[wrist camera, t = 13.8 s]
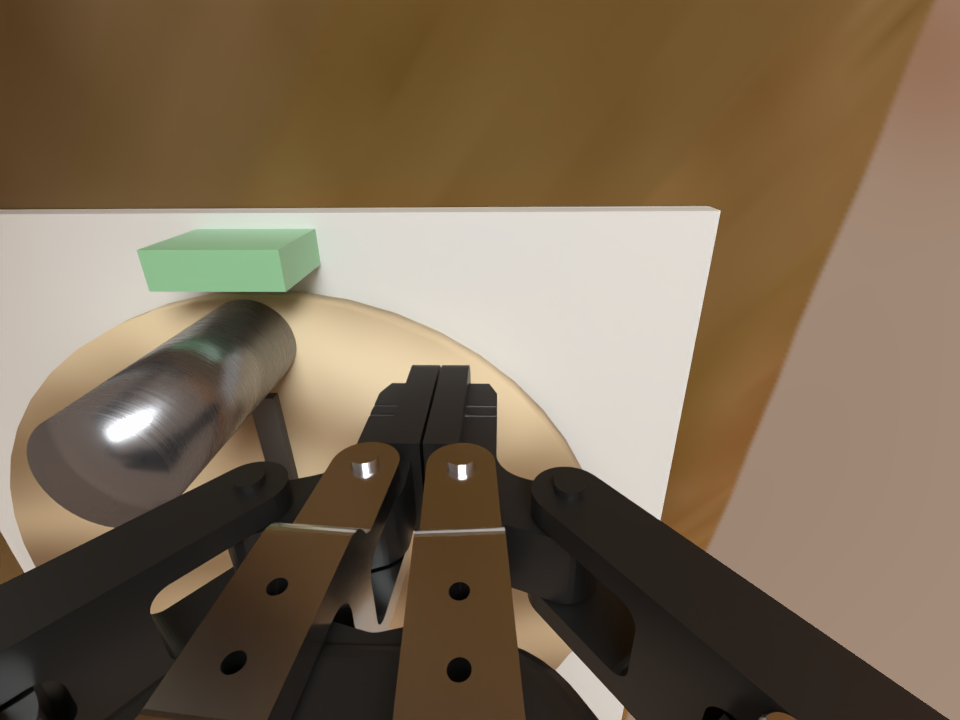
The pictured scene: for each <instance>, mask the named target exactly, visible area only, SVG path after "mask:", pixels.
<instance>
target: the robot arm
mask: <svg viewBox="0 0 960 720" xmlns="http://www.w3.org/2000/svg"><path fill="white" fill-rule="evenodd" d="M374 405H375V406H374V407H373V409H372V411H371V413H370V416H369V418H368V420H367V422H366V424H365V427H364V429H363V431H362V433H361V435H360V438H359V440H358V442H357V444H355V445H352V446H350V447H347V448H345V449H344V450H342V451H341V452H339V453H338V454H337V455H336V456H335V457H334V458H333V460H332V461H331V463H330V464H329V466H328V468H327V469H326V471H325V472H324V473H322V474H318V475H313V476H308V477H303V478H298V479H293V480H289V475H288V472H287V470H286V468H285V467H284V466H282V465H281V464H278V463H275V462H269V461H261V462H253V463H249V464H245V465H242V466H239V467H237V468H235V469H232V470H230V471H228V472H226V473H224V474H222V475H220V476H218V477H216V478H214V479H212V480H210V481H208V482H206V483H204V484H202V485H200V486H198V487H196V488H194V489H192V490H190V491H188V492H186V493H184V494H182V495H180V496H178V497H176V498H174V499H172V500H170V501H168V502H166V503H164V504H162V505H160V506H158V507H156V508H154V509H152V510H150V511H148V512H146V513H144V514H142V515H140V516H138V517H136V518H134V519H132V520H130V521H128V522H126V523H124V524H122V525H120V526H118V527H116V528H114V529H112V530H110V531H108V532H106V533H104V534H102V535H100V536H98V537H96V538H94V539H92V540H90V541H88V542H86V543H84V544H82V545H80V546H78V547H76V548H74V549H72V550H70V551H68V552H66V553H64V554H62V555H60V556H58V557H56V558H54V559H52V560H50V561H48V562H46V563H44V564H42V565H40V566H38V567H36V568H34V569H32V570H29V571H27V572H25V573H23V574H21V575H19V576H17V577H15V578H13V579H11V580H9V581H7V582H5V583H3V584H1V585H0V720H599V719H598V718H597V717H596V715H595V714H594V713H593V712H592V710H591V709H590V708H589V707H588V705H587V704H586V703H585V702H584V701H583V699H582V698H581V697H580V696H579V694H578V693H577V692H576V691H575V690H574V688H573V687H572V686H571V685H570V684H569V683H568V682H567V681H566V680H565V679H564V678H563V677H562V676H561V675H560V674H559V673H558V672H557V671H556V670H554V669H553V668H552V667H550V666H549V665H548V664H546V663H545V662H544V661H542V660H541V659H539V658H537V657H536V656H534V655H532V654H531V653H529V652H527V651H525V650H523V649H520V648H518V644H517V635H516V626H515V616H514V607H513V598H512V588H514V589H517V590H520V591H523V592H526V593H528V599H529V602H530V604H531V605H532V607H533V608H534V610H535V611H536V612H537V613H538V614H539V615H540V616H541V617H542V619H543V620H544V621H545V622H546V623H547V624H548V625H549V626H550V627H551V628H552V629H553V630H554V631H555V633H556V634H557V635H558V636H559V637H560V638H561V639H562V640H563V641H564V642H565V643H566V644H567V646H568V647H569V648H570V649H571V650H572V651H573V652H574V653H575V654H576V655H577V656H578V657H579V659H580V660H581V661H582V662H583V663H584V664H585V665H586V666H587V667H588V668H589V669H590V670H591V672H592V673H593V674H594V675H595V676H596V677H597V678H598V679H599V680H600V681H601V682H602V683H603V685H604V686H605V687H606V688H607V689H608V690H609V691H610V692H611V693H612V694H613V695H614V696H615V697H616V699H617V700H618V701H619V702H620V703H621V704H622V705H623V706H624V707H625V708H626V709H627V710H628V712H629V713H630V714H631V715H632V716H633V717H634V718H635V719H636V720H949V719H948V718H946V717H945V716H943V715H942V714H940V713H939V712H937V711H936V710H935V709H933V708H931V707H930V706H929V705H927V704H926V703H924V702H923V701H921V700H920V699H918V698H917V697H916V696H914V695H913V694H911V693H910V692H908V691H907V690H905V689H904V688H903V687H901V686H900V685H898V684H896V683H895V682H894V681H892V680H891V679H889V678H888V677H886V676H885V675H884V674H882V673H881V672H879V671H878V670H876V669H875V668H873V667H872V666H871V665H869V664H868V663H866V662H865V661H863V660H862V659H860V658H859V657H858V656H856V655H855V654H853V653H852V652H850V651H849V650H847V649H846V648H844V647H843V646H842V645H840V644H838V643H837V642H836V641H834V640H833V639H831V638H830V637H828V636H827V635H826V634H824V633H823V632H821V631H820V630H818V629H817V628H815V627H814V626H813V625H811V624H810V623H808V622H806V621H805V620H804V619H802V618H801V617H799V616H798V615H797V614H795V613H794V612H792V611H791V610H789V609H788V608H786V607H785V606H783V605H782V604H781V603H779V602H777V601H776V600H775V599H773V598H772V597H770V596H769V595H767V594H766V593H765V592H763V591H762V590H760V589H759V588H757V587H756V586H754V585H753V584H752V583H750V582H748V581H747V580H746V579H744V578H743V577H741V576H740V575H738V574H737V573H736V572H734V571H733V570H731V569H730V568H728V567H727V566H725V565H724V564H722V563H721V562H720V561H718V560H717V559H715V558H713V557H712V556H711V555H709V554H708V553H707V552H705V551H704V550H702V549H701V548H699V547H698V546H696V545H695V544H693V543H692V542H691V541H689V540H688V539H686V538H685V537H683V536H682V535H680V534H679V533H677V532H676V531H675V530H673V529H672V528H670V527H669V526H667V525H666V524H664V523H663V522H662V521H660V520H659V519H657V518H656V517H654V516H653V515H651V514H650V513H648V512H647V511H646V510H644V509H643V508H641V507H640V506H638V505H637V504H635V503H634V502H632V501H631V500H630V499H628V498H627V497H625V496H624V495H622V494H621V493H619V492H618V491H616V490H615V489H614V488H612V487H611V486H609V485H608V484H606V483H605V482H603V481H602V480H601V479H599V478H598V477H596V476H595V475H593V474H591V473H590V472H587V471H585V470H582V469H579V468H574V467H554V468H550V469H547V470H545V471H543V472H541V473H540V474H538V475H537V476H536V478H535V479H534V480H529V479H525V478H522V477H518V476H516V475H514V474H512V473H510V472H508V471H507V470H506V469H504V468H503V467H502V466H501V465H500V463H499V462H498V460H497V393H496V392H495V390H494V389H493V388H492V387H491V385H490V384H473V383H471V374H470V365H442V367H441V366H440V365H412V367H411V370H410V372H409V375H408V378H407V380H406V383H391V384H390V385H389V386H388V387H386V388H385V389H384V390H383V391H381V392H380V393H379V395H378V398H377V400H376V402H375V404H374ZM413 531H415V533H414V538H413V546H412V554H411V563H410V572H409V581H408V589H407V598H406V607H405V615H404V624H403V627H401V628H396V629H392V630H389V628H390V624H391V621H392V618H393V615H394V611H395V608H396V605H397V601H398V598H399V595H400V592H401V588H402V585H403V582H404V578H405V575H406V572H407V568H408V565H409V561H410V551H409V546H410V543H411V539H412V534H413ZM227 549H228V552H229V555H230V558H231V561H232V564H233V567H232V568H230V569H229V570H227V571H226V572H224V573H222V574H221V575H219V576H218V577H216V578H214V579H213V580H211V581H210V582H208V583H207V584H205V585H203V586H202V587H200V588H199V589H197V590H196V591H194V592H192V593H191V594H189V595H188V596H186V597H185V598H183V599H181V600H180V601H178V602H177V603H175V604H173V605H172V606H170V607H169V608H167V609H165V610H164V611H161V612H159V613H155V614H151V613H150V608H151V605H152V602H153V600H154V599H155V597H156V596H157V595H158V594H159V593H160V591H162V590H163V589H164V588H165V587H167V586H168V585H170V584H171V583H173V582H175V581H176V580H178V579H179V578H181V577H183V576H184V575H186V574H188V573H189V572H191V571H193V570H194V569H196V568H198V567H199V566H201V565H203V564H204V563H206V562H208V561H209V560H211V559H213V558H214V557H216V556H218V555H219V554H221V553H222V552H224V551H226V550H227Z"/></svg>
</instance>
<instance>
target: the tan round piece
mask: <svg viewBox="0 0 960 720" xmlns="http://www.w3.org/2000/svg"><path fill="white" fill-rule="evenodd" d="M412 365H440V366H441V367H442V365H470V374H471V383H473V384H490V385H491V387H492V388H493V389H494V390H495V392H496V393H497V460H498V462H499V463H500V465H501V466H502V467H503V468H504V469H506V470H507V471H508V472H510V473H512V474H514V475H516V476H518V477H522V478H525V479H529V480H534V479H535V478H536V476H537V475H538V474H540V473H541V472H543V471H545V470H547V469H550V468H554V467H574V468H579V469H582V468H581V466H580V464H579V462H578V461H577V459H576V457H575V455H574V453H573V452H572V450H571V448H570V446H569V444H568V442H567V441H566V439H565V438H564V436H563V435H562V434H561V432H560V431H559V430H558V428H557V427H556V426H555V425H554V423H553V422H552V421H551V419H550V418H549V417H548V415H547V414H546V413H545V411H544V410H543V409H542V408H541V407H540V406H539V405H538V404H537V403H536V402H535V401H534V400H533V399H532V398H531V397H530V396H529V395H528V394H527V393H526V392H525V391H524V390H523V389H522V388H521V387H520V386H519V385H518V384H517V383H516V382H515V381H514V380H512V379H511V378H510V377H508V376H507V375H506V374H504V373H503V372H502V371H500V370H499V369H498V368H496V367H495V366H494V365H492V364H491V363H490V362H488V361H487V360H486V359H484V358H483V357H482V356H481V355H479V354H477V353H476V352H474V351H472V350H470V349H469V348H467V347H465V346H464V345H462V344H460V343H458V342H457V341H455V340H453V339H451V338H450V337H448V336H446V335H444V334H443V333H441V332H439V331H437V330H434V329H432V328H430V327H427V326H425V325H423V324H420V323H418V322H416V321H413V320H411V319H409V318H406V317H404V316H402V315H399V314H397V313H394V312H390V311H387V310H384V309H380V308H377V307H373V306H370V305H366V304H363V303H360V302H356V301H353V300H349V299H343V298H337V297H331V296H325V295H319V294H313V293H307V292H296V291H286V292H224V293H213V294H207V295H202V296H198V297H194V298H189V299H185V300H181V301H176V302H172V303H168V304H165V305H163V306H160V307H158V308H155V309H153V310H150V311H148V312H145V313H143V314H140V315H138V316H135V317H133V318H130V319H128V320H126V321H125V322H123V323H121V324H119V325H117V326H115V327H113V328H111V329H110V330H108V331H106V332H105V333H103V334H101V335H100V336H98V337H96V338H95V339H93V340H91V341H90V342H88V343H86V344H85V345H83V346H82V347H80V348H78V349H77V350H76V351H75V352H73V353H72V354H71V355H70V356H69V357H68V358H67V359H66V360H65V361H63V362H62V363H61V364H60V365H59V366H58V367H57V368H56V369H54V370H53V371H52V372H51V373H50V374H49V376H48V377H47V378H46V380H45V381H44V382H43V384H42V385H41V386H40V388H39V389H38V390H37V392H36V393H35V394H34V396H33V397H32V398H31V400H30V402H29V404H28V406H27V409H26V411H25V413H24V415H23V417H22V419H21V421H20V424H19V426H18V428H17V432H16V437H15V441H14V445H13V450H12V454H11V465H10V491H11V497H12V503H13V509H14V516H15V519H16V522H17V525H18V528H19V531H20V534H21V537H22V540H23V543H24V545H25V547H26V549H27V551H28V553H29V555H30V557H31V559H32V561H33V563H34V565H35V567H38V566H40V565H42V564H44V563H46V562H48V561H50V560H52V559H54V558H56V557H58V556H60V555H62V554H64V553H66V552H68V551H70V550H72V549H74V548H76V547H78V546H80V545H82V544H84V543H86V542H88V541H90V540H92V539H94V538H96V537H98V536H100V535H102V534H104V533H106V532H108V531H110V530H112V529H114V528H116V527H118V526H120V525H122V524H124V523H126V522H128V521H130V520H132V519H134V518H136V517H138V516H140V515H142V514H144V513H146V512H148V511H150V510H152V509H154V508H156V507H158V506H160V505H162V504H164V503H166V502H168V501H170V500H172V499H174V498H176V497H178V496H180V495H182V494H184V493H186V492H188V491H190V490H192V489H194V488H196V487H198V486H200V485H202V484H204V483H206V482H208V481H210V480H212V479H214V478H216V477H218V476H220V475H222V474H224V473H226V472H228V471H230V470H232V469H235V468H237V467H239V466H242V465H245V464H249V463H253V462H261V461H269V462H275V463H278V464H281V465H282V466H284V467H285V468H286V470H287V472H288V475H289V480H293V479H298V478H303V477H308V476H313V475H318V474H322V473H324V472H325V471H326V469H327V468H328V466H329V464H330V463H331V461H332V460H333V458H334V457H335V456H336V455H337V454H338V453H339V452H341V451H342V450H344V449H345V448H347V447H350V446H352V445H355V444H357V442H358V440H359V438H360V435H361V433H362V431H363V429H364V427H365V424H366V422H367V420H368V418H369V416H370V413H371V411H372V409H373V407H374V406H375V405H374V404H375V402H376V400H377V398H378V395H379V393H380V392H381V391H383V390H384V389H385V388H386V387H388V386H389V385H390V384H391V383H406V380H407V378H408V375H409V372H410V370H411V367H412ZM414 533H415V531H413V534H412V539H411V543H410V546H409V551H410V561H409V565H408V568H407V572H406V575H405V578H404V582H403V585H402V588H401V592H400V595H399V598H398V601H397V605H396V608H395V611H394V615H393V618H392V621H391V624H390V628H389V630H392V629H396V628H401V627H403V624H404V615H405V607H406V598H407V589H408V581H409V572H410V563H411V554H412V546H413V538H414ZM232 567H233V564H232V561H231V558H230V555H229V552H228V549H227V550H226V551H224V552H222V553H221V554H219V555H218V556H216V557H214V558H213V559H211V560H209V561H208V562H206V563H204V564H203V565H201V566H199V567H198V568H196V569H194V570H193V571H191V572H189V573H188V574H186V575H184V576H183V577H181V578H179V579H178V580H176V581H175V582H173V583H171V584H170V585H168V586H167V587H165V588H164V589H163V590H162V591H160V593H159V594H158V595H157V596H156V597H155V599H154V600H153V602H152V605H151V608H150V613H151V614H155V613H159V612H161V611H164V610H165V609H167V608H169V607H170V606H172V605H173V604H175V603H177V602H178V601H180V600H181V599H183V598H185V597H186V596H188V595H189V594H191V593H192V592H194V591H196V590H197V589H199V588H200V587H202V586H203V585H205V584H207V583H208V582H210V581H211V580H213V579H214V578H216V577H218V576H219V575H221V574H222V573H224V572H226V571H227V570H229V569H230V568H232ZM512 598H513V607H514V616H515V626H516V635H517V644H518V648H520V649H523V650H525V651H527V652H529V653H531V654H532V655H534V656H536V657H537V658H539V659H541V660H542V661H544V662H545V663H546V664H548V665H549V666H550V667H552V668H553V669H554V670H556V669H557V668H558V667H559V666H560V665H561V663H562V662H563V661H564V660H565V659H566V658H567V656H568V655H569V654H570V653H571V652H572V650H571V649H570V648H569V647H568V646H567V644H566V643H565V642H564V641H563V640H562V639H561V638H560V637H559V636H558V635H557V634H556V633H555V631H554V630H553V629H552V628H551V627H550V626H549V625H548V624H547V623H546V622H545V621H544V620H543V619H542V617H541V616H540V615H539V614H538V613H537V612H536V611H535V610H534V608H533V607H532V605H531V604H530V602H529V599H528V593H526V592H523V591H520V590H517V589H514V588H512Z"/></svg>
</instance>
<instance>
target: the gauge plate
mask: <svg viewBox="0 0 960 720" xmlns="http://www.w3.org/2000/svg"><path fill="white" fill-rule="evenodd" d="M720 212H721V211H719V210H717V209H715V208H712V207H710V206H625V207H423V208H222V209H20V210H0V531H1V533H2V535H3V536H4V538H5V540H6V542H7V543H8V545H9V547H10V549H11V550H12V552H13V554H14V555H15V557H16V559H17V561H18V562H19V564H20V566H21V568H22V569H23V571H24V573H25V572H27V571H29V570H32V569H34V568H36V567H35V565H34V563H33V561H32V559H31V557H30V555H29V553H28V551H27V549H26V547H25V545H24V543H23V540H22V537H21V534H20V531H19V528H18V525H17V522H16V519H15V516H14V509H13V503H12V497H11V491H10V465H11V454H12V450H13V445H14V441H15V437H16V432H17V428H18V426H19V424H20V421H21V419H22V417H23V415H24V413H25V411H26V409H27V406H28V404H29V402H30V400H31V398H32V397H33V396H34V394H35V393H36V392H37V390H38V389H39V388H40V386H41V385H42V384H43V382H44V381H45V380H46V378H47V377H48V376H49V374H50V373H51V372H52V371H53V370H54V369H56V368H57V367H58V366H59V365H60V364H61V363H62V362H63V361H65V360H66V359H67V358H68V357H69V356H70V355H71V354H72V353H73V352H75V351H76V350H77V349H78V348H80V347H82V346H83V345H85V344H86V343H88V342H90V341H91V340H93V339H95V338H96V337H98V336H100V335H101V334H103V333H105V332H106V331H108V330H110V329H111V328H113V327H115V326H117V325H119V324H121V323H123V322H125V321H126V320H128V319H130V318H133V317H135V316H138V315H140V314H143V313H145V312H148V311H150V310H153V309H155V308H158V307H160V306H163V305H165V304H168V303H172V302H176V301H181V300H185V299H189V298H194V297H198V296H202V295H207V294H213V293H224V292H286V291H296V292H307V293H313V294H319V295H325V296H331V297H337V298H343V299H349V300H353V301H356V302H360V303H363V304H366V305H370V306H373V307H377V308H380V309H384V310H387V311H390V312H394V313H397V314H399V315H402V316H404V317H406V318H409V319H411V320H413V321H416V322H418V323H420V324H423V325H425V326H427V327H430V328H432V329H434V330H437V331H439V332H441V333H443V334H444V335H446V336H448V337H450V338H451V339H453V340H455V341H457V342H458V343H460V344H462V345H464V346H465V347H467V348H469V349H470V350H472V351H474V352H476V353H477V354H479V355H481V356H482V357H483V358H484V359H486V360H487V361H488V362H490V363H491V364H492V365H494V366H495V367H496V368H498V369H499V370H500V371H502V372H503V373H504V374H506V375H507V376H508V377H510V378H511V379H512V380H514V381H515V382H516V383H517V384H518V385H519V386H520V387H521V388H522V389H523V390H524V391H525V392H526V393H527V394H528V395H529V396H530V397H531V398H532V399H533V400H534V401H535V402H536V403H537V404H538V405H539V406H540V407H541V408H542V409H543V410H544V411H545V413H546V414H547V415H548V417H549V418H550V419H551V421H552V422H553V423H554V425H555V426H556V427H557V428H558V430H559V431H560V432H561V434H562V435H563V436H564V438H565V439H566V441H567V442H568V444H569V446H570V448H571V450H572V452H573V453H574V455H575V457H576V459H577V461H578V462H579V464H580V466H581V468H582V470H585V471H587V472H590V473H591V474H593V475H595V476H596V477H598V478H599V479H601V480H602V481H603V482H605V483H606V484H608V485H609V486H611V487H612V488H614V489H615V490H616V491H618V492H619V493H621V494H622V495H624V496H625V497H627V498H628V499H630V500H631V501H632V502H634V503H635V504H637V505H638V506H640V507H641V508H643V509H644V510H646V511H647V512H648V513H650V514H651V515H653V516H654V517H656V518H657V519H659V520H660V519H661V514H662V509H663V504H664V499H665V494H666V488H667V483H668V478H669V473H670V468H671V463H672V458H673V453H674V447H675V442H676V437H677V432H678V427H679V422H680V417H681V412H682V406H683V401H684V396H685V391H686V386H687V381H688V376H689V371H690V366H691V360H692V355H693V350H694V345H695V340H696V335H697V330H698V325H699V319H700V314H701V309H702V304H703V299H704V294H705V289H706V284H707V278H708V273H709V268H710V263H711V258H712V253H713V248H714V243H715V237H716V232H717V227H718V222H719V217H720ZM556 671H557V672H558V673H559V674H560V675H561V676H562V677H563V678H564V679H565V680H566V681H567V682H568V683H569V684H570V685H571V686H572V687H573V688H574V690H575V691H576V692H577V693H578V694H579V696H580V697H581V698H582V699H583V701H584V702H585V703H586V704H587V705H588V707H589V708H590V709H591V710H592V712H593V713H594V714H595V715H596V717H597V718H598V719H599V720H621V719H622V714H623V709H624V706H623V705H622V704H621V703H620V702H619V701H618V700H617V699H616V697H615V696H614V695H613V694H612V693H611V692H610V691H609V690H608V689H607V688H606V687H605V686H604V685H603V683H602V682H601V681H600V680H599V679H598V678H597V677H596V676H595V675H594V674H593V673H592V672H591V670H590V669H589V668H588V667H587V666H586V665H585V664H584V663H583V662H582V661H581V660H580V659H579V657H578V656H577V655H576V654H575V653H574V652H573V651H572V652H571V653H570V654H569V655H568V656H567V658H566V659H565V660H564V661H563V662H562V663H561V665H560V666H559V667H558V668H557V669H556Z"/></svg>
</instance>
